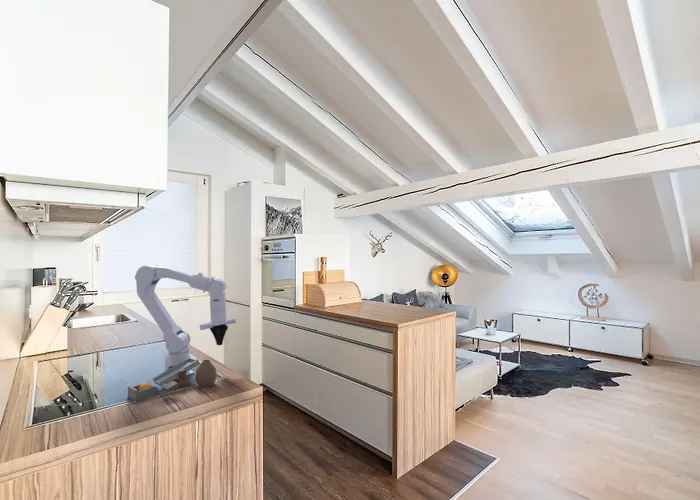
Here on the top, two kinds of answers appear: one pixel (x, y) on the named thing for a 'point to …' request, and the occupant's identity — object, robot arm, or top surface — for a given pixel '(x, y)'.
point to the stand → (181, 379)
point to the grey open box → (142, 392)
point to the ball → (144, 386)
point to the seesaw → (174, 374)
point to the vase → (206, 374)
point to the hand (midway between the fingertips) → (219, 344)
